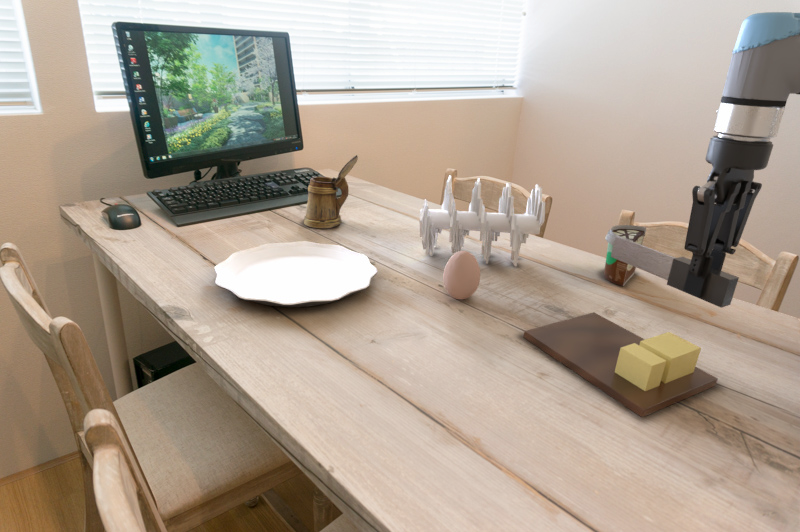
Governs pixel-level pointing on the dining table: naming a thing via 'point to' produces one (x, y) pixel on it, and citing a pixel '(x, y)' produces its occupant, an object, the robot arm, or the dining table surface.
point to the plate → (295, 273)
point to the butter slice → (640, 366)
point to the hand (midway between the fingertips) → (698, 292)
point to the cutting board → (610, 361)
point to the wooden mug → (327, 198)
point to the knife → (675, 270)
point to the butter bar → (673, 355)
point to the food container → (616, 268)
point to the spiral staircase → (482, 220)
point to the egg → (461, 275)
